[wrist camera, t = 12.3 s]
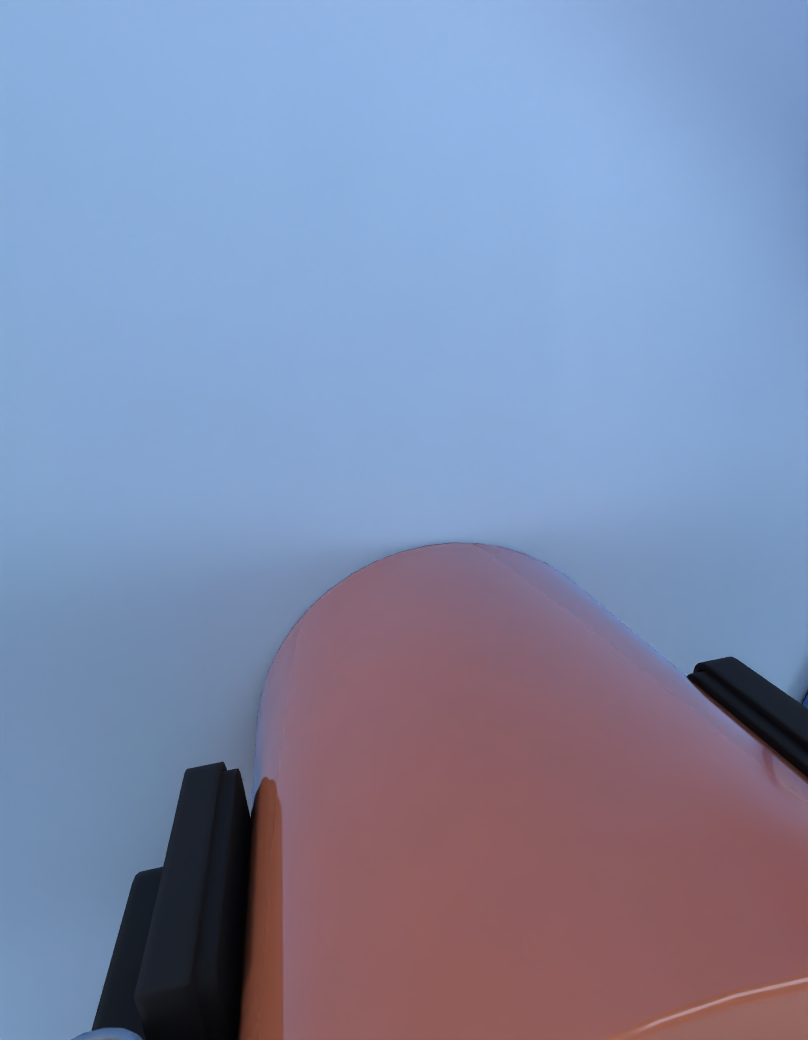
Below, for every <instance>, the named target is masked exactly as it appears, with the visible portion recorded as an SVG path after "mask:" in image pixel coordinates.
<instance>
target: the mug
mask: <svg viewBox="0 0 808 1040" xmlns="http://www.w3.org/2000/svg"><path fill="white" fill-rule="evenodd" d="M237 1040H808V778H807V777H806V776H805V775H804V774H802V773H801V772H800V771H799V770H798V769H796V768H795V767H794V766H793V765H792V764H790V763H789V762H788V761H787V760H786V759H784V758H783V757H782V756H781V755H780V754H778V753H777V752H776V751H775V750H774V749H773V748H771V747H770V746H769V745H768V744H767V743H765V742H764V741H763V740H762V739H761V738H759V737H758V736H757V735H756V734H755V733H753V732H752V731H751V730H750V729H749V728H747V727H746V726H745V725H744V724H743V723H741V722H740V721H739V720H738V719H737V718H736V717H734V716H733V715H732V714H731V713H730V712H728V711H727V710H726V709H725V708H724V707H722V706H721V705H720V704H719V703H718V702H716V701H715V700H714V699H713V698H712V697H710V696H709V695H708V694H707V693H706V692H704V691H703V690H702V689H701V688H700V687H698V686H697V685H696V684H695V683H694V682H693V681H691V680H690V679H689V678H688V677H687V676H685V675H684V674H683V673H682V672H681V671H679V670H678V669H677V668H676V667H675V666H673V665H672V664H671V663H670V662H669V661H667V660H666V659H665V658H664V657H663V656H661V655H660V654H659V653H658V652H657V651H656V650H654V649H653V648H652V647H651V646H650V645H648V644H647V643H646V642H645V641H644V640H642V639H641V638H640V637H639V636H638V635H636V634H635V633H634V632H633V631H632V630H630V629H629V628H628V627H627V626H626V625H624V624H623V623H622V622H621V621H620V620H619V619H617V618H616V617H615V616H614V615H613V614H611V613H610V612H609V611H608V610H607V609H605V608H604V607H603V606H602V605H601V604H599V603H598V602H597V601H596V600H595V599H593V598H592V597H591V596H590V595H589V594H587V593H586V592H585V591H584V590H583V589H582V588H580V587H579V586H578V585H577V584H576V583H574V582H573V581H572V580H571V579H570V578H568V577H567V576H566V575H564V574H563V573H561V572H560V571H558V570H556V569H555V568H553V567H552V566H550V565H548V564H547V563H545V562H542V561H540V560H538V559H536V558H533V557H531V556H529V555H527V554H524V553H521V552H517V551H514V550H510V549H507V548H503V547H498V546H491V545H485V544H478V543H447V544H438V545H430V546H423V547H419V548H415V549H411V550H407V551H403V552H399V553H397V554H394V555H391V556H389V557H386V558H384V559H381V560H378V561H376V562H374V563H372V564H370V565H368V566H366V567H364V568H362V569H360V570H359V571H357V572H355V573H353V574H351V575H350V576H348V577H347V578H345V579H344V580H343V581H341V582H340V583H338V584H337V585H335V586H334V587H333V588H331V589H330V590H329V591H327V592H326V593H325V594H324V595H323V596H322V597H321V598H320V599H319V600H318V601H316V602H315V603H314V604H313V605H312V606H311V607H310V608H309V609H308V610H307V611H306V613H305V614H304V615H303V616H302V617H301V618H300V620H299V621H298V622H297V623H296V624H295V625H294V627H293V628H292V630H291V631H290V633H289V634H288V636H287V637H286V639H285V640H284V642H283V643H282V645H281V646H280V648H279V650H278V652H277V654H276V656H275V658H274V660H273V663H272V665H271V667H270V669H269V671H268V674H267V677H266V680H265V683H264V687H263V690H262V693H261V697H260V704H259V710H258V716H257V727H256V743H255V759H254V775H253V791H252V807H251V823H250V838H249V854H248V870H247V886H246V902H245V918H244V933H243V949H242V965H241V981H240V997H239V1013H238V1028H237Z"/></svg>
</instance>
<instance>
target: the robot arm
mask: <svg viewBox="0 0 808 1040" xmlns="http://www.w3.org/2000/svg"><path fill="white" fill-rule="evenodd" d="M687 677H688V678H689V679H690V680H691V681H693V682H694V683H695V684H696V685H697V686H698V687H700V688H701V689H702V690H703V691H704V692H706V693H707V694H708V695H709V696H710V697H712V698H713V699H714V700H715V701H716V702H718V703H719V704H720V705H721V706H722V707H724V708H725V709H726V710H727V711H728V712H730V713H731V714H732V715H733V716H734V717H736V718H737V719H738V720H739V721H740V722H741V723H743V724H744V725H745V726H746V727H747V728H749V729H750V730H751V731H752V732H753V733H755V734H756V735H757V736H758V737H759V738H761V739H762V740H763V741H764V742H765V743H767V744H768V745H769V746H770V747H771V748H773V749H774V750H775V751H776V752H777V753H778V754H780V755H781V756H782V757H783V758H784V759H786V760H787V761H788V762H789V763H790V764H792V765H793V766H794V767H795V768H796V769H798V770H799V771H800V772H801V773H802V774H804V775H805V776H806V777H807V778H808V709H807V708H806V707H804V706H803V705H802V704H800V703H799V702H797V701H796V700H794V699H793V698H792V697H790V696H789V695H787V694H786V693H784V692H783V691H782V690H780V689H779V688H777V687H776V686H775V685H773V684H772V683H770V682H769V681H767V680H766V679H765V678H763V677H762V676H760V675H759V674H757V673H756V672H755V671H753V670H752V669H750V668H749V667H747V666H746V665H745V664H743V663H742V662H740V661H739V660H737V659H736V658H734V657H726V658H721V659H716V660H711V661H706V662H702V663H698V664H697V665H696V666H695V668H694V672H693V673H692V674H689V675H688V676H687ZM250 823H251V818H250V814H249V809H248V805H247V800H246V796H245V791H244V786H243V782H242V777H241V774H240V771H239V769H233V770H228V771H227V768H226V766H225V763H224V762H219V763H214V764H209V765H204V766H200V767H195V768H190V769H187V770H186V771H185V774H184V778H183V783H182V787H181V791H180V796H179V800H178V805H177V809H176V813H175V818H174V822H173V827H172V831H171V835H170V840H169V844H168V849H167V853H166V858H165V862H164V866H163V867H160V868H155V869H151V870H146V871H142V872H139V873H138V874H137V875H136V876H135V878H134V881H133V883H132V886H131V890H130V893H129V897H128V901H127V904H126V908H125V912H124V915H123V919H122V922H121V926H120V930H119V933H118V937H117V940H116V944H115V948H114V951H113V955H112V958H111V962H110V966H109V969H108V973H107V976H106V980H105V984H104V987H103V991H102V995H101V998H100V1002H99V1005H98V1009H97V1013H96V1016H95V1020H94V1023H93V1027H92V1031H90V1032H86V1033H83V1034H81V1035H79V1036H77V1037H75V1038H73V1039H71V1040H237V1028H238V1013H239V997H240V981H241V965H242V949H243V933H244V918H245V902H246V886H247V870H248V854H249V838H250Z"/></svg>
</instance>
